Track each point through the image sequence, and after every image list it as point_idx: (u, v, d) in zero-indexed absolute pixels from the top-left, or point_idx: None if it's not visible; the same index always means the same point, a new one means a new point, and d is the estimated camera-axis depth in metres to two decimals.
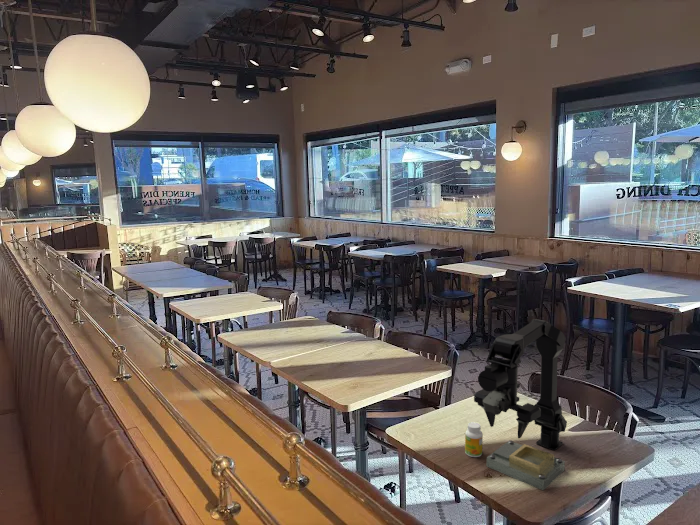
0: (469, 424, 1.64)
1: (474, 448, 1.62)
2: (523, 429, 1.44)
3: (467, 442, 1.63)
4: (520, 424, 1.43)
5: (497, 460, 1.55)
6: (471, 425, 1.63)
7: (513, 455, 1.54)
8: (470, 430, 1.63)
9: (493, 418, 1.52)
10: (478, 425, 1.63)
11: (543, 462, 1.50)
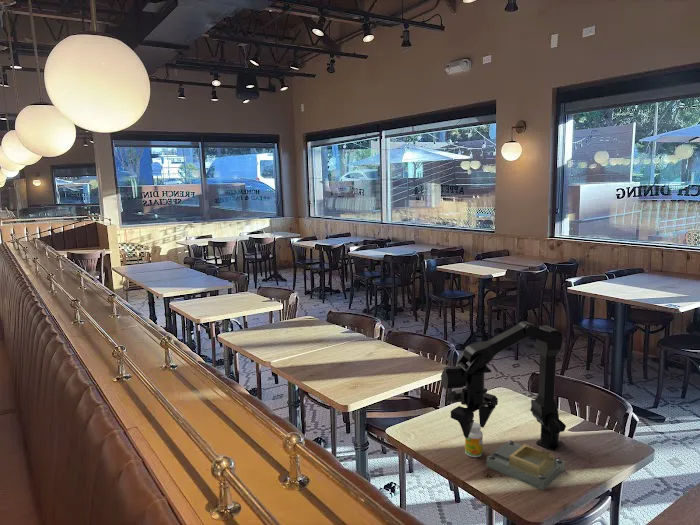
0: None
1: (474, 448, 1.62)
2: (465, 430, 1.60)
3: (467, 442, 1.63)
4: None
5: (497, 460, 1.55)
6: None
7: (513, 455, 1.54)
8: None
9: (483, 420, 1.66)
10: (478, 425, 1.63)
11: (543, 462, 1.50)
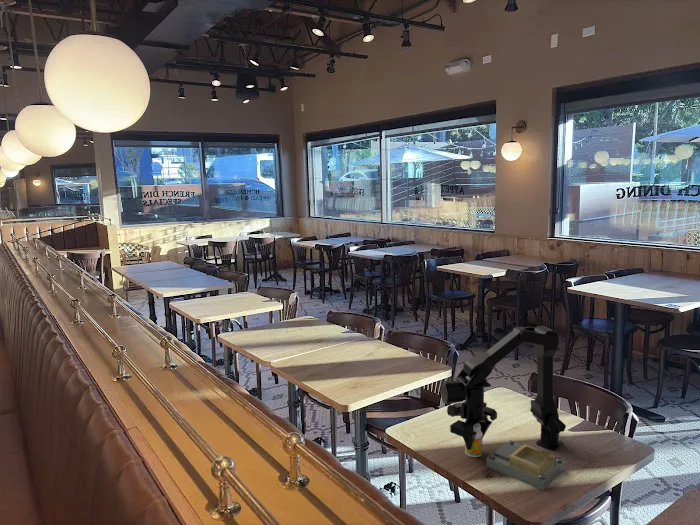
0: None
1: (474, 448, 1.62)
2: (467, 442, 1.61)
3: None
4: None
5: (497, 460, 1.55)
6: None
7: (513, 455, 1.54)
8: None
9: None
10: (478, 425, 1.63)
11: (543, 462, 1.50)
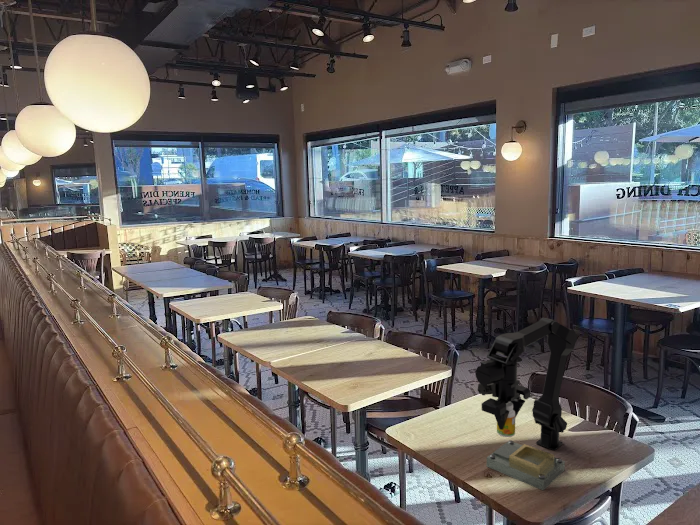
0: None
1: (506, 427, 1.55)
2: (499, 421, 1.54)
3: None
4: None
5: (497, 460, 1.55)
6: None
7: (513, 455, 1.54)
8: None
9: None
10: (511, 404, 1.56)
11: (543, 462, 1.50)
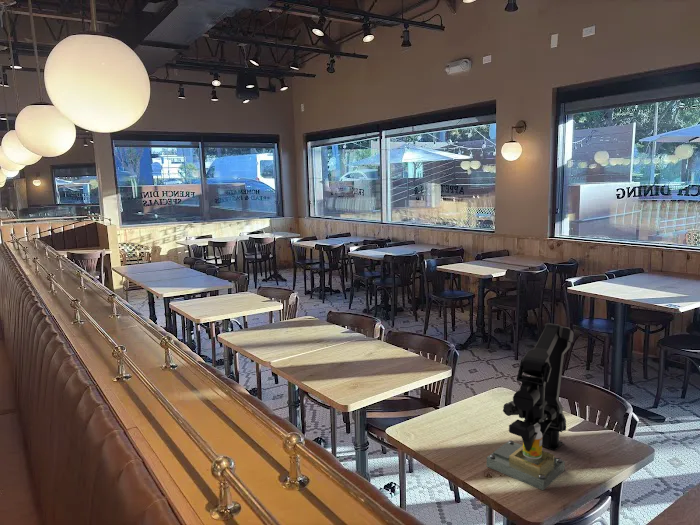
0: None
1: (534, 449, 1.51)
2: (527, 443, 1.50)
3: None
4: None
5: (497, 460, 1.55)
6: None
7: (513, 455, 1.54)
8: None
9: None
10: (538, 425, 1.52)
11: (543, 462, 1.50)
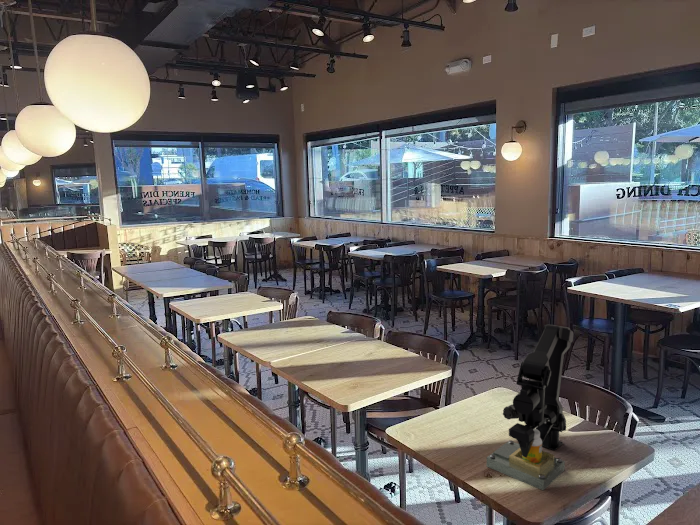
0: None
1: (533, 456, 1.51)
2: (524, 449, 1.49)
3: None
4: None
5: (497, 460, 1.55)
6: None
7: (513, 455, 1.54)
8: None
9: (541, 438, 1.56)
10: (537, 431, 1.52)
11: (543, 462, 1.50)
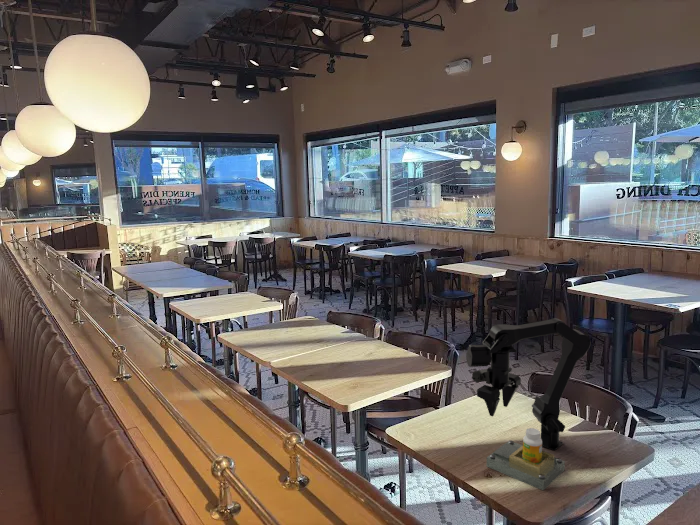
0: (527, 430, 1.53)
1: (533, 456, 1.51)
2: (490, 408, 1.62)
3: (526, 450, 1.52)
4: None
5: (497, 460, 1.55)
6: (530, 431, 1.52)
7: (513, 455, 1.54)
8: (529, 437, 1.52)
9: (506, 400, 1.69)
10: (537, 431, 1.52)
11: (543, 462, 1.50)
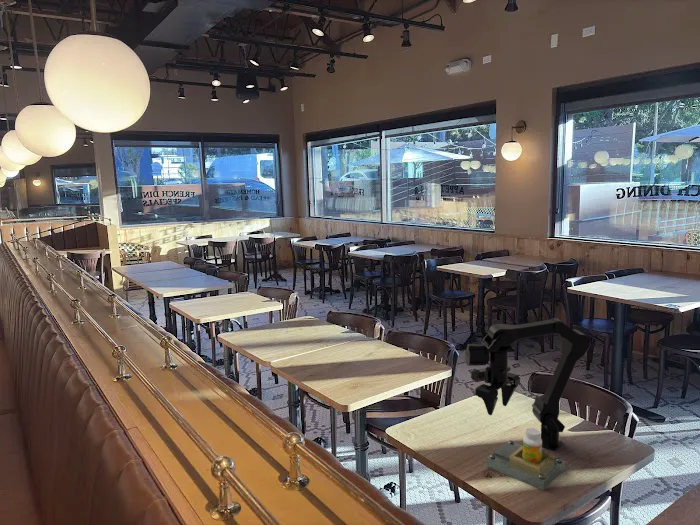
0: (527, 430, 1.53)
1: (533, 456, 1.51)
2: (489, 407, 1.63)
3: (526, 450, 1.52)
4: None
5: (497, 460, 1.55)
6: (530, 431, 1.52)
7: (513, 455, 1.54)
8: (529, 437, 1.52)
9: (506, 399, 1.70)
10: (537, 431, 1.52)
11: (543, 462, 1.50)
